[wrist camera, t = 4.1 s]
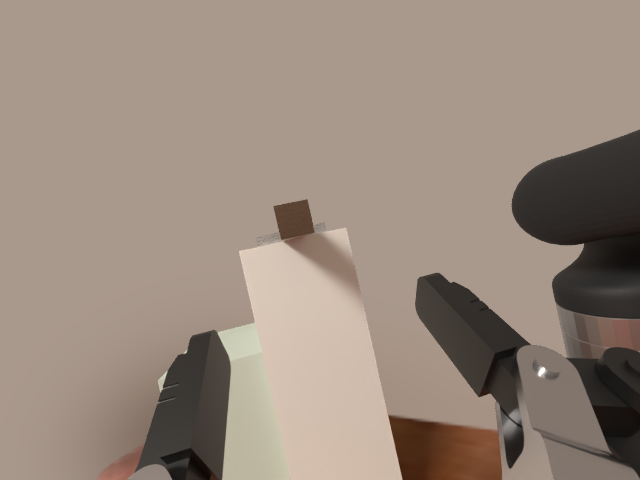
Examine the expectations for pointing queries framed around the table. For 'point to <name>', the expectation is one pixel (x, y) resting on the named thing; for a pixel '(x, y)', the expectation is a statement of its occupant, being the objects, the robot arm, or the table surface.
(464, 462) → the table surface
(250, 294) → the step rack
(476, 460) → the table surface
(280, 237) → the turner
